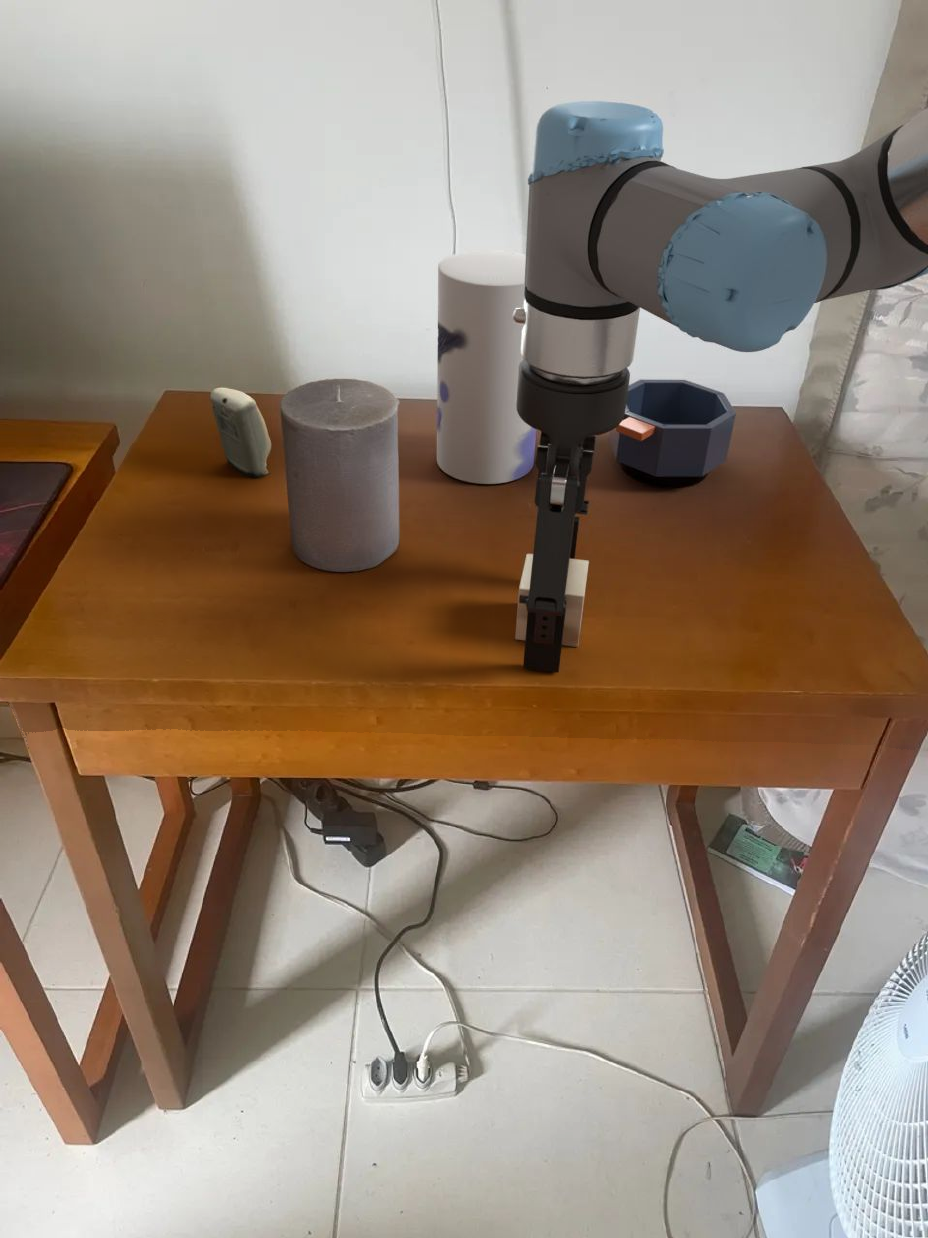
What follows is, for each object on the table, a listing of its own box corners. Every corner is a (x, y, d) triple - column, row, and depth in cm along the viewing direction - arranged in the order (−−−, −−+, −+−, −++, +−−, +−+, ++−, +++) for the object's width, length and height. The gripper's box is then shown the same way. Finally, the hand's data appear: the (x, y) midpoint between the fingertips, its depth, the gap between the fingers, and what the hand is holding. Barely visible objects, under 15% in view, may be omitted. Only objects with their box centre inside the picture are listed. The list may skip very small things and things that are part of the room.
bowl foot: (725, 470, 101) (728, 457, 100) (668, 497, 96) (670, 484, 95) (659, 438, 106) (661, 425, 105) (601, 462, 102) (603, 449, 101)
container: (421, 449, 103) (421, 254, 91) (506, 433, 106) (516, 243, 94) (461, 493, 96) (466, 288, 84) (551, 474, 99) (568, 275, 87)
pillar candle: (286, 521, 91) (271, 367, 82) (390, 510, 93) (386, 358, 84) (298, 580, 84) (283, 418, 74) (411, 566, 86) (409, 407, 76)
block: (582, 610, 81) (589, 560, 78) (578, 647, 77) (584, 596, 74) (522, 603, 82) (526, 552, 79) (515, 639, 78) (518, 588, 75)
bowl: (650, 415, 106) (657, 370, 103) (742, 449, 101) (753, 402, 97) (576, 457, 98) (581, 409, 95) (671, 497, 93) (680, 447, 89)
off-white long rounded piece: (207, 475, 97) (196, 400, 93) (228, 451, 102) (218, 378, 97) (262, 482, 97) (253, 407, 92) (280, 458, 101) (273, 384, 96)
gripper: (538, 299, 75) (520, 540, 89) (494, 433, 57) (480, 712, 71) (636, 307, 75) (603, 550, 88) (623, 446, 56) (584, 726, 70)
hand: (548, 622), depth 79 cm, fingers open, 11 cm apart
